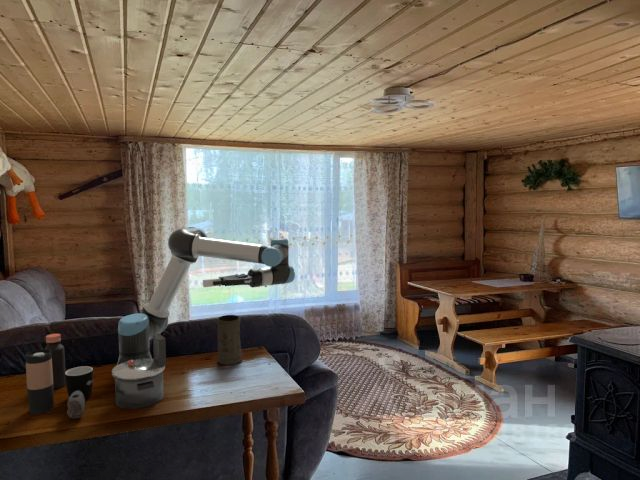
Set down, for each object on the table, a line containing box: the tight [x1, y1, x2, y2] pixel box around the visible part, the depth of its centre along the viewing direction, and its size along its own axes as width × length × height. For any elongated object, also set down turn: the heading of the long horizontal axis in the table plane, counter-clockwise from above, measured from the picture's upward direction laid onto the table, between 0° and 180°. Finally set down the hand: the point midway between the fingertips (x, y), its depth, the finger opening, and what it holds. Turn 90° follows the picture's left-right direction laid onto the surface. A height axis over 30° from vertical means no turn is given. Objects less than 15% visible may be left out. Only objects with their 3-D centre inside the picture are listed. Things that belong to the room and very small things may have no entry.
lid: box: [111, 333, 167, 380], centre depth 161 cm, size 18×18×11 cm
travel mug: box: [25, 348, 55, 415], centre depth 153 cm, size 8×8×20 cm
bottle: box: [44, 333, 66, 390], centre depth 173 cm, size 7×7×20 cm
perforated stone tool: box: [66, 390, 86, 420], centre depth 152 cm, size 15×5×7 cm, turn 24°
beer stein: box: [216, 314, 243, 366], centre depth 202 cm, size 15×11×20 cm
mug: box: [65, 365, 94, 400], centre depth 164 cm, size 12×9×10 cm
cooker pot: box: [114, 370, 164, 410], centre depth 162 cm, size 20×16×10 cm
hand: (203, 283), depth 173 cm, fingers closed
